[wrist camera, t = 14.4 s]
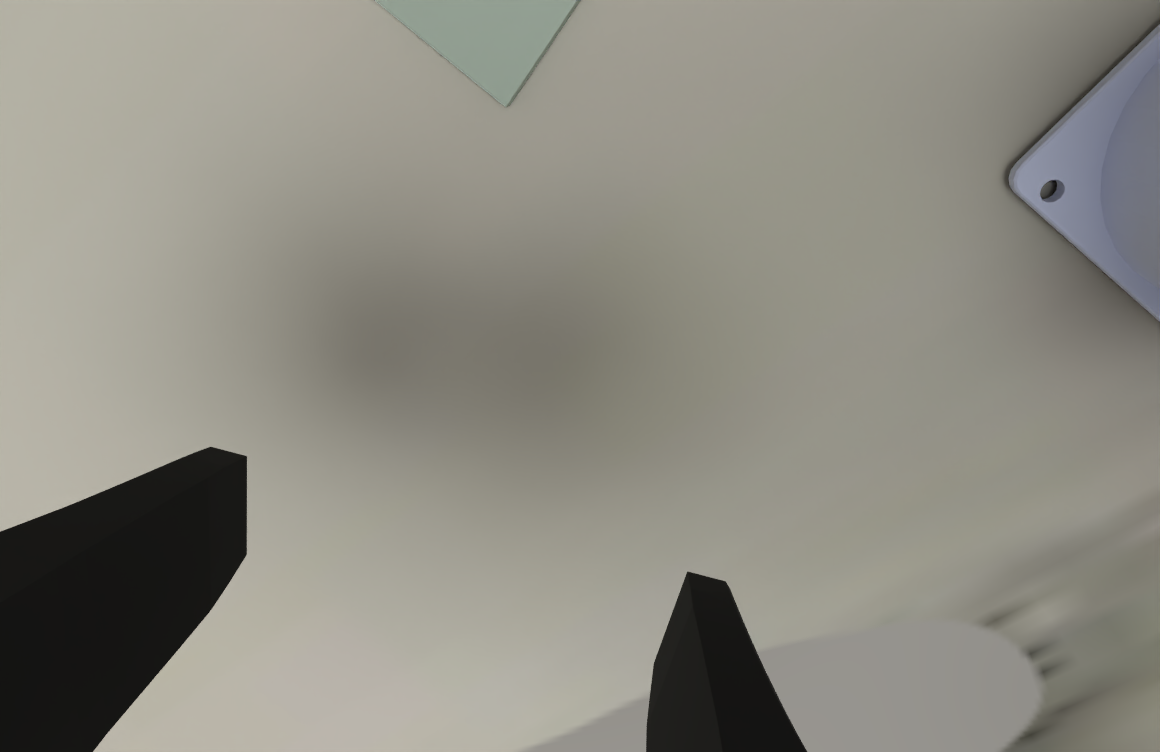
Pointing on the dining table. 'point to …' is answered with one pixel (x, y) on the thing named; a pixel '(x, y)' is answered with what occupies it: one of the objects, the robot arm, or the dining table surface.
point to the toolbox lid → (487, 36)
